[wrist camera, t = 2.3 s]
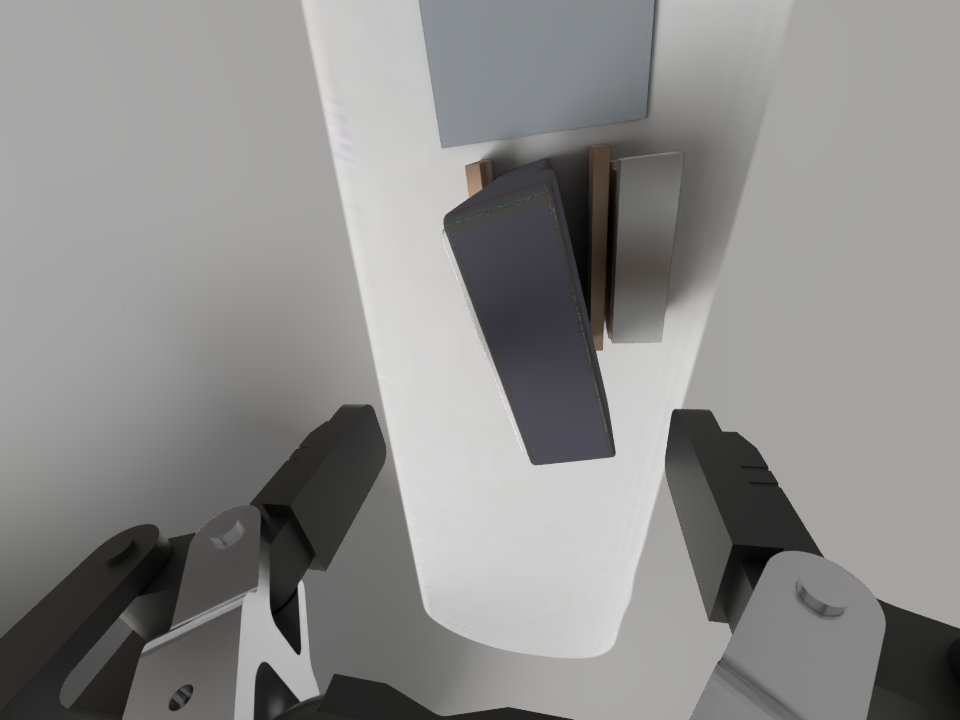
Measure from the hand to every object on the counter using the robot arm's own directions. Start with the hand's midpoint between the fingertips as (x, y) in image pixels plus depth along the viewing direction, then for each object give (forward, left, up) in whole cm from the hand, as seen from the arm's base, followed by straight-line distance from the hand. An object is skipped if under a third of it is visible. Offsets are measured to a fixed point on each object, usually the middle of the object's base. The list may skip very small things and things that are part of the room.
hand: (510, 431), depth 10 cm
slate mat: (-11, 0, -19) cm, 22 cm away
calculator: (0, 0, -19) cm, 19 cm away
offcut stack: (0, +6, -19) cm, 20 cm away
